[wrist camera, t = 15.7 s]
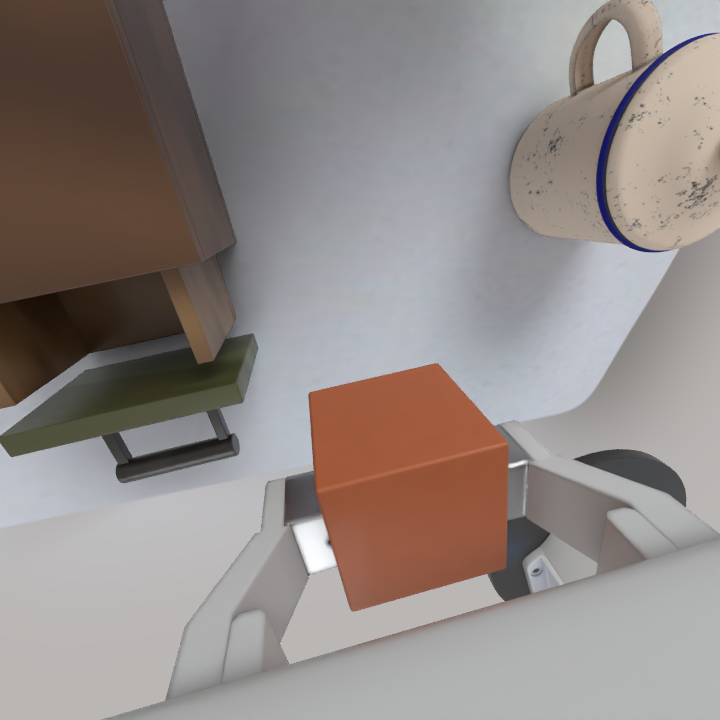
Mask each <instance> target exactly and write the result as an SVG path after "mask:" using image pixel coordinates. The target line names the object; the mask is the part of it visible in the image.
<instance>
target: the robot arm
mask: <svg viewBox="0 0 720 720" xmlns="http://www.w3.org/2000/svg"><path fill="white" fill-rule="evenodd" d="M494 427H495V428H496V429H497V430H498V431H499V433H500V434H501V435H502V436H503V437H504V438H505V439H506V440H507V442H508V444H509V460H508V511H507V521H508V520H513V519H517V518H521V517H525V516H526V518H527V519H529V520H530V521H532V522H533V523H535V524H536V525H538V526H540V527H541V528H543V529H544V530H546V531H548V532H549V533H550V535H549V536H548V537H547V538H546V540H545V541H544V542H543V543H542V544H541V545H540V546H539V547H538V548H537V549H535V550H534V551H532V552H531V553H530V554H529V555H527V556H526V557H525V558H524V560H523V562H522V565H523V568H524V572H525V575H526V579H527V583H528V586H529V590H530V593H531V594H529V595H525V596H522V597H519V598H515V599H512V600H508V601H505V602H502V603H498V604H495V605H492V606H488V607H485V608H481V609H478V610H474V611H471V612H467V613H464V614H461V615H457V616H454V617H451V618H447V619H444V620H440V621H437V622H433V623H430V624H426V625H423V626H420V627H416V628H413V629H410V630H406V631H403V632H399V633H396V634H392V635H389V636H386V637H382V638H379V639H375V640H372V641H368V642H365V643H362V644H358V645H355V646H351V647H348V648H344V649H341V650H338V651H335V652H331V653H327V654H324V655H321V656H317V657H314V658H310V659H307V660H303V661H300V662H297V663H293V664H290V665H289V662H288V660H287V658H286V656H285V654H284V652H283V650H282V648H281V645H280V642H281V640H282V637H283V635H284V633H285V630H286V628H287V626H288V624H289V621H290V619H291V617H292V615H293V612H294V610H295V608H296V605H297V603H298V601H299V599H300V597H301V594H302V592H303V590H304V587H305V585H306V583H307V580H308V579H309V577H308V576H309V575H312V574H316V573H319V572H322V571H325V570H329V569H332V568H335V567H338V566H337V563H336V560H335V556H334V553H333V550H332V546H331V543H330V540H329V536H328V533H327V529H326V526H325V523H324V519H323V516H322V513H321V509H320V506H319V503H318V499H317V496H316V493H315V480H314V471H311V472H307V473H302V474H298V475H293V476H289V477H286V478H282V479H277V480H273V481H268V482H267V484H266V488H265V497H264V506H263V516H262V525H261V532H260V533H256V534H255V535H254V536H253V537H252V538H251V540H250V541H249V542H248V544H247V545H246V546H245V548H244V549H243V550H242V552H241V553H240V554H239V556H238V557H237V558H236V560H235V561H234V562H233V564H232V565H231V566H230V568H229V569H228V570H227V572H226V573H225V574H224V576H223V577H222V578H221V580H220V581H219V582H218V583H217V585H216V586H215V587H214V589H213V590H212V591H211V593H210V594H209V596H208V597H207V598H206V599H205V601H204V602H203V604H202V605H201V606H200V607H199V609H198V610H197V611H196V613H195V614H194V615H193V617H192V618H191V619H190V621H189V622H188V623H187V625H186V626H185V628H184V632H183V636H182V639H181V643H180V647H179V651H178V655H177V658H176V662H175V666H174V670H173V673H172V677H171V681H170V685H169V689H168V692H167V696H166V700H165V701H163V702H160V703H157V704H153V705H150V706H146V707H143V708H139V709H136V710H133V711H130V712H126V713H123V714H119V715H116V716H112V717H109V718H105V719H102V720H720V534H719V533H718V532H717V531H715V530H714V529H713V528H711V527H710V526H709V525H708V524H706V523H705V522H704V521H702V520H701V519H700V518H699V517H697V516H696V515H695V514H694V513H692V512H691V511H689V510H688V509H687V508H686V507H685V506H683V505H682V504H681V503H679V502H678V501H677V500H676V499H674V498H673V497H672V496H670V495H669V494H668V493H665V492H662V491H659V490H657V489H654V488H651V487H648V486H645V485H643V484H640V483H637V482H634V481H631V480H629V479H626V478H623V477H620V476H617V475H615V474H612V473H609V472H606V471H603V470H601V469H598V468H595V467H592V466H589V465H587V464H584V463H581V462H578V461H575V460H573V459H570V458H567V457H564V456H561V455H556V456H553V455H552V454H551V453H550V452H549V451H548V450H547V449H546V448H545V447H544V446H543V445H542V444H541V443H540V442H539V441H538V440H537V439H536V438H535V437H534V436H532V434H530V433H529V432H528V431H527V430H526V429H525V428H524V427H523V426H522V425H521V424H520V423H519V422H518V421H515V420H513V421H509V422H506V423H502V424H498V425H497V426H494Z"/></svg>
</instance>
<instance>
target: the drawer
mask: <svg viewBox="0 0 720 720" xmlns="http://www.w3.org/2000/svg"><path fill="white" fill-rule="evenodd" d="M235 320H236V315H235V312H234V309H233V306H232V303H231V300H230V297H229V295H228V292H227V289H226V286H225V283H224V280H223V277H222V274H221V271H220V268H219V265H218V262H217V259H216V256H215V255H214V256H212V257H210V258H208V259H206V260H205V261H203V262H201V263H199V264H194V265H189V266H184V267H179V268H174V269H169V270H164V271H159V272H155V273H150V274H145V275H140V276H135V277H130V278H125V279H120V280H115V281H110V282H105V283H101V284H96V285H91V286H86V287H81V288H76V289H71V290H66V291H61V292H56V293H51V294H46V295H42V296H37V297H32V298H27V299H22V300H17V301H12V302H7V303H2V304H0V409H1V408H6V407H10V406H15V405H16V404H18V403H19V402H21V401H22V400H24V399H25V398H27V397H28V396H29V395H31V394H32V393H34V392H35V391H37V390H38V389H39V388H41V387H42V386H44V385H45V384H47V383H48V382H49V381H51V380H52V379H54V378H55V377H57V376H58V375H59V374H61V373H62V372H64V371H65V370H67V369H68V368H69V367H71V366H72V365H74V364H75V363H77V362H78V361H79V360H81V359H82V358H84V357H85V356H87V355H88V354H89V353H94V352H98V351H103V350H107V349H112V348H117V347H121V346H126V345H130V344H135V343H140V342H144V341H149V340H153V339H158V338H162V337H167V336H172V335H176V334H181V333H185V334H186V337H187V339H188V341H189V344H190V346H191V347H189V348H184V349H180V350H175V351H171V352H166V353H162V354H157V355H153V356H148V357H144V358H139V359H135V360H130V361H126V362H121V363H116V364H112V365H107V366H103V367H98V368H94V369H89V370H85V371H84V372H83V373H82V374H80V375H79V376H78V377H76V378H75V379H74V380H72V381H71V382H70V383H69V384H67V385H66V386H65V387H63V388H62V389H61V390H59V391H58V392H57V393H55V394H54V395H53V396H52V397H50V398H49V399H48V400H46V401H45V402H44V403H42V404H41V405H40V406H39V407H37V408H36V409H35V410H33V411H32V412H31V413H29V414H28V415H27V416H25V417H24V418H23V419H22V420H20V421H19V422H18V423H16V424H15V425H14V426H12V427H11V428H10V429H9V430H7V431H6V432H5V433H3V434H2V435H1V436H0V443H1V445H2V446H3V447H4V449H5V450H6V451H7V453H8V454H9V455H10V456H11V457H14V456H19V455H23V454H27V453H31V452H36V451H40V450H44V449H48V448H53V447H57V446H61V445H65V444H69V443H74V442H78V441H82V440H86V439H91V438H95V437H99V436H102V438H103V439H104V441H105V443H106V444H107V446H108V448H109V449H110V451H111V453H112V454H113V456H114V458H115V459H116V461H117V463H118V464H117V466H116V476H117V479H118V480H119V481H120V482H121V483H128V482H132V481H136V480H140V479H144V478H148V477H152V476H156V475H160V474H164V473H168V472H172V471H176V470H180V469H184V468H188V467H192V466H196V465H200V464H204V463H208V462H213V461H217V460H221V459H225V458H229V457H233V456H237V455H238V454H239V451H240V446H239V441H238V438H237V436H236V434H234V433H232V434H230V433H229V430H228V428H227V425H226V423H225V420H224V418H223V415H222V413H221V411H220V408H222V407H226V406H230V405H235V404H239V403H242V402H243V401H244V398H245V394H246V391H247V387H248V383H249V380H250V376H251V372H252V369H253V365H254V361H255V358H256V354H257V351H258V346H257V342H256V339H255V336H254V334H247V335H243V336H238V337H234V338H229V339H226V337H227V335H228V333H229V331H230V330H231V328H232V326H233V324H234V322H235ZM205 411H207V414H208V416H209V418H210V421H211V423H212V425H213V428H214V430H215V432H216V435H217V437H216V438H212V439H208V440H203V441H199V442H195V443H191V444H187V445H183V446H179V447H175V448H170V449H166V450H162V451H158V452H154V453H150V454H146V455H142V456H137V457H133V458H132V455H131V453H130V452H129V450H128V448H127V446H126V444H125V443H124V441H123V439H122V437H121V436H120V434H119V432H120V431H124V430H129V429H133V428H137V427H141V426H146V425H150V424H154V423H158V422H163V421H167V420H171V419H175V418H180V417H184V416H188V415H192V414H196V413H201V412H205Z"/></svg>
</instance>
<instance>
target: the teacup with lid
mask: <svg viewBox="0 0 720 720" xmlns="http://www.w3.org/2000/svg"><path fill="white" fill-rule="evenodd" d="M612 19H614V20H617V21H618V22H619V23H621V24H622V25H623V27H624V28H625V29H626V32H627V34H628V37H629V41H630V47H631V57H632V70H630V71H628V72H625V73H623V74H620V75H618V76H616V77H613V78H611V79H608V80H606V81H604V82H601V83H599V84H596V85H594V80H593V55H594V51H595V47H596V44H597V42H598V39H599V37H600V35H601V34H602V32H603V30H604V29H605V27H606V26H607V25H608V23H609V22H610V21H611V20H612ZM569 84H570V92H571V95H570V96H568V97H565V98H563V99H561V100H559V101H557V102H555V103H553V104H552V105H550V106H549V107H547V108H546V109H545V110H543V111H542V112H541V113H540V114H539V115H538V116H537V117H536V118H535V119H534V120H533V122H532V123H531V124H530V125H529V127H528V128H527V130H526V131H525V133H524V134H523V136H522V138H521V140H520V142H519V144H518V146H517V148H516V151H515V154H514V157H513V160H512V165H511V171H510V194H511V199H512V203H513V206H514V208H515V211H516V213H517V214H518V216H519V218H520V219H521V220H522V222H523V223H524V224H525V225H526V226H527V227H528V228H530V229H531V230H533V231H534V232H536V233H538V234H541V235H544V236H549V237H558V238H567V239H577V240H586V241H595V242H604V243H613V244H623V245H626V246H628V247H629V248H632V249H635V250H638V251H643V252H664V251H669V250H673V249H677V248H681V247H684V246H687V245H690V244H692V243H694V242H697V241H699V240H701V239H703V238H704V237H706V236H708V235H710V234H711V233H713V232H714V231H716V230H717V229H718V228H720V33H710V34H705V35H700V36H697V37H694V38H691V39H689V40H686V41H684V42H682V43H680V44H678V45H677V46H675V47H673V48H672V49H670V50H668V51H667V52H666V53H664V54H663V48H662V30H661V23H660V18H659V15H658V12H657V10H656V8H655V6H654V4H653V3H652V2H651V1H650V0H610V1H609V2H607V3H606V4H604V5H603V6H601V7H600V8H599V9H598V10H597V11H596V12H595V13H594V14H593V15H592V16H591V17H590V18H589V19H588V21H587V22H586V23H585V25H584V26H583V28H582V30H581V31H580V33H579V35H578V37H577V39H576V42H575V44H574V47H573V50H572V53H571V58H570V64H569Z"/></svg>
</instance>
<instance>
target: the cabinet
mask: <svg viewBox="0 0 720 720" xmlns="http://www.w3.org/2000/svg"><path fill="white" fill-rule="evenodd" d="M235 243H236V238H235V235H234V232H233V228H232V225H231V222H230V219H229V215H228V212H227V209H226V206H225V202H224V199H223V196H222V193H221V190H220V186H219V183H218V180H217V177H216V173H215V170H214V167H213V164H212V160H211V157H210V154H209V151H208V148H207V144H206V141H205V138H204V135H203V131H202V128H201V125H200V122H199V119H198V115H197V112H196V109H195V106H194V102H193V99H192V96H191V93H190V89H189V86H188V83H187V80H186V77H185V73H184V70H183V67H182V64H181V60H180V57H179V54H178V51H177V47H176V44H175V41H174V38H173V35H172V31H171V28H170V25H169V22H168V18H167V15H166V12H165V9H164V5H163V2H162V0H0V304H2V303H7V302H12V301H17V300H22V299H27V298H32V297H37V296H42V295H46V294H51V293H56V292H61V291H66V290H71V289H76V288H81V287H86V286H91V285H96V284H101V283H105V282H110V281H115V280H120V279H125V278H130V277H135V276H140V275H145V274H150V273H155V272H159V271H164V270H169V269H174V268H179V267H184V266H189V265H194V264H199V263H201V262H203V261H205V260H206V259H208V258H210V257H212V256H214V255H215V254H217V253H219V252H221V251H222V250H224V249H226V248H228V247H229V246H231V245H233V244H235Z"/></svg>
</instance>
